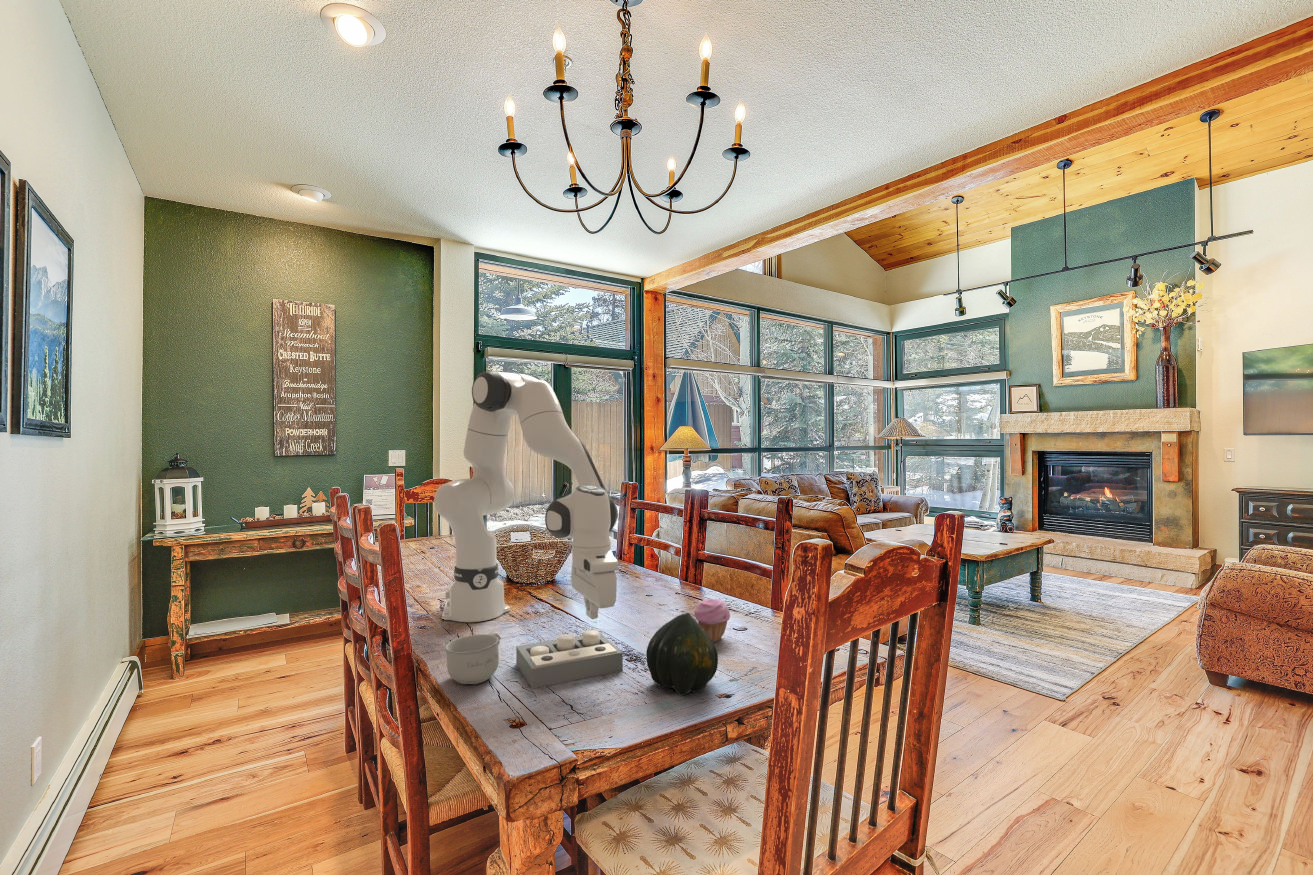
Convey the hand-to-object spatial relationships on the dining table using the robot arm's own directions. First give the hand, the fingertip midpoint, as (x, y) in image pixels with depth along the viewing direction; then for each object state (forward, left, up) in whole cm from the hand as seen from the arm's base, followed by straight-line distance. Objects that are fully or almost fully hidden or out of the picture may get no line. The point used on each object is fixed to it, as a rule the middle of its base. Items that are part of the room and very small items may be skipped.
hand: (592, 617), depth 135 cm
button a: (0, -12, -8) cm, 15 cm away
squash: (+21, +12, -10) cm, 26 cm away
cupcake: (+1, +32, -10) cm, 33 cm away
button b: (0, -6, -7) cm, 9 cm away
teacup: (-2, -25, -10) cm, 27 cm away
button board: (+2, -6, -10) cm, 12 cm away
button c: (0, 0, -7) cm, 7 cm away
